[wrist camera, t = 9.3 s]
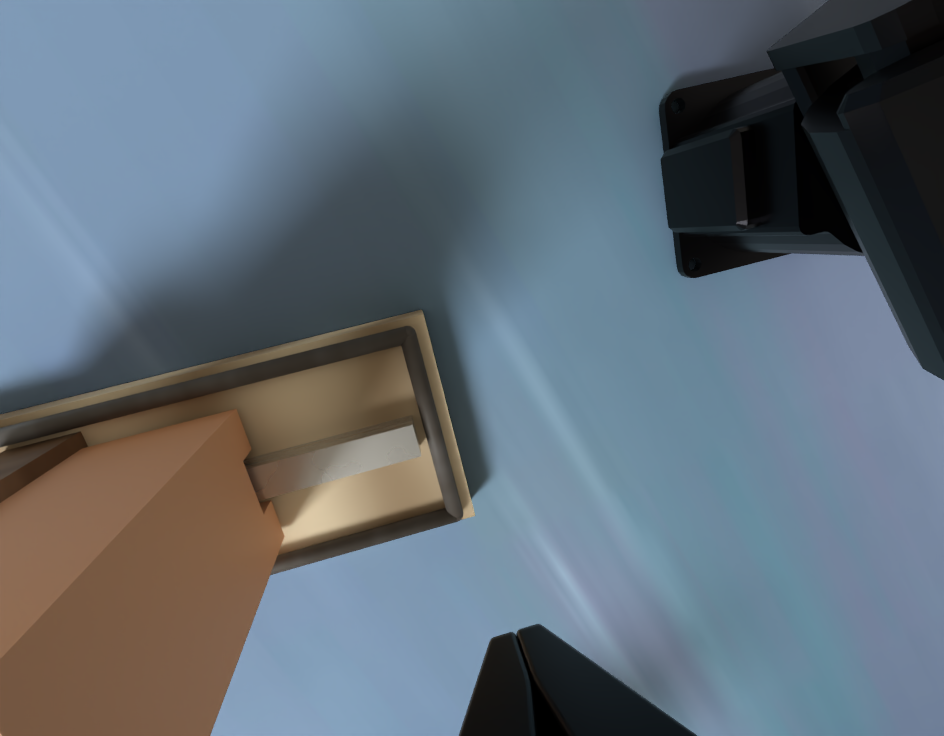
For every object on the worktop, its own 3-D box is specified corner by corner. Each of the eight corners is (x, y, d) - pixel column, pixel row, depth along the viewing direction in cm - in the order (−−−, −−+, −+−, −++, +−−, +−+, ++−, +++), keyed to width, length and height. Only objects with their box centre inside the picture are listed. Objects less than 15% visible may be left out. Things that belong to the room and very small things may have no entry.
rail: (411, 415, 18) (412, 424, 17) (420, 445, 18) (421, 456, 18) (111, 494, 17) (94, 509, 16) (125, 524, 18) (110, 541, 17)
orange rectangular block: (236, 408, 17) (-29, 688, 6) (284, 536, 18) (132, 942, 8) (82, 448, 17) (-474, 818, 6) (143, 575, 18) (-223, 1061, 7)
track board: (421, 309, 19) (424, 316, 17) (470, 500, 21) (477, 523, 19) (-39, 424, 17) (-87, 444, 15) (65, 614, 19) (32, 651, 18)
